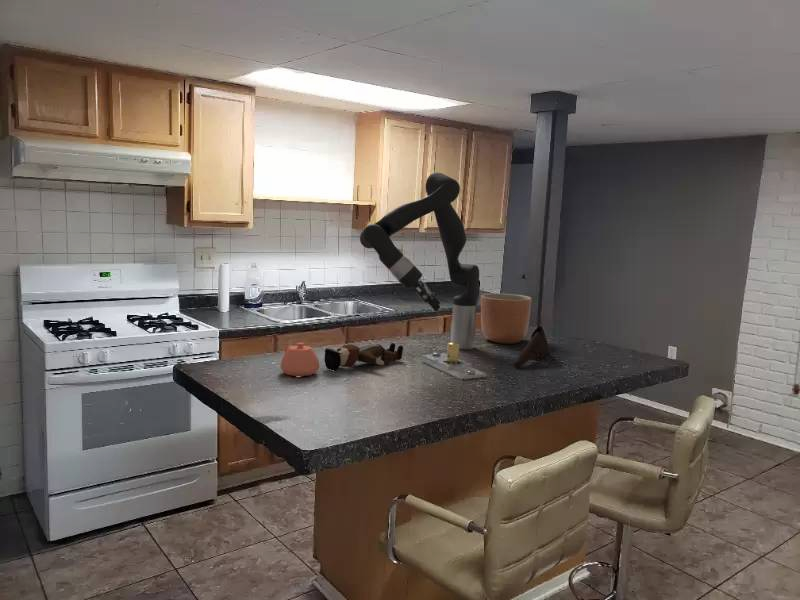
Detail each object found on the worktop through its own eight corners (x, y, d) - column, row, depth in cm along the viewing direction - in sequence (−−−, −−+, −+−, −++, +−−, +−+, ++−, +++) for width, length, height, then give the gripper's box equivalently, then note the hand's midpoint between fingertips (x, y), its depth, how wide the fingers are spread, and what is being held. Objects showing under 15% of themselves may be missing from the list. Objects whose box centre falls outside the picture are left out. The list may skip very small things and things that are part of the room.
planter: (468, 339, 269) (471, 295, 266) (499, 334, 283) (502, 292, 280) (508, 348, 254) (511, 301, 251) (538, 342, 268) (541, 298, 265)
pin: (444, 368, 218) (445, 342, 217) (454, 367, 220) (455, 341, 218) (450, 371, 214) (451, 344, 213) (460, 370, 216) (461, 344, 215)
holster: (529, 397, 227) (554, 352, 243) (522, 363, 218) (548, 319, 234) (516, 394, 230) (542, 350, 246) (508, 361, 221) (535, 317, 237)
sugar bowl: (296, 381, 195) (297, 348, 193) (269, 372, 204) (269, 341, 203) (327, 374, 204) (327, 343, 202) (299, 366, 213) (300, 336, 212)
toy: (421, 351, 218) (352, 350, 198) (417, 378, 219) (348, 380, 199) (377, 337, 236) (310, 335, 216) (373, 363, 237) (306, 363, 216)
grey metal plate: (421, 361, 226) (422, 352, 226) (444, 359, 231) (444, 350, 230) (461, 379, 203) (461, 370, 203) (485, 377, 208) (486, 367, 207)
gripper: (413, 266, 206) (447, 302, 207) (414, 262, 220) (445, 296, 221) (396, 282, 207) (430, 318, 208) (398, 277, 221) (430, 310, 222)
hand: (438, 307), depth 214 cm, fingers open, 8 cm apart
